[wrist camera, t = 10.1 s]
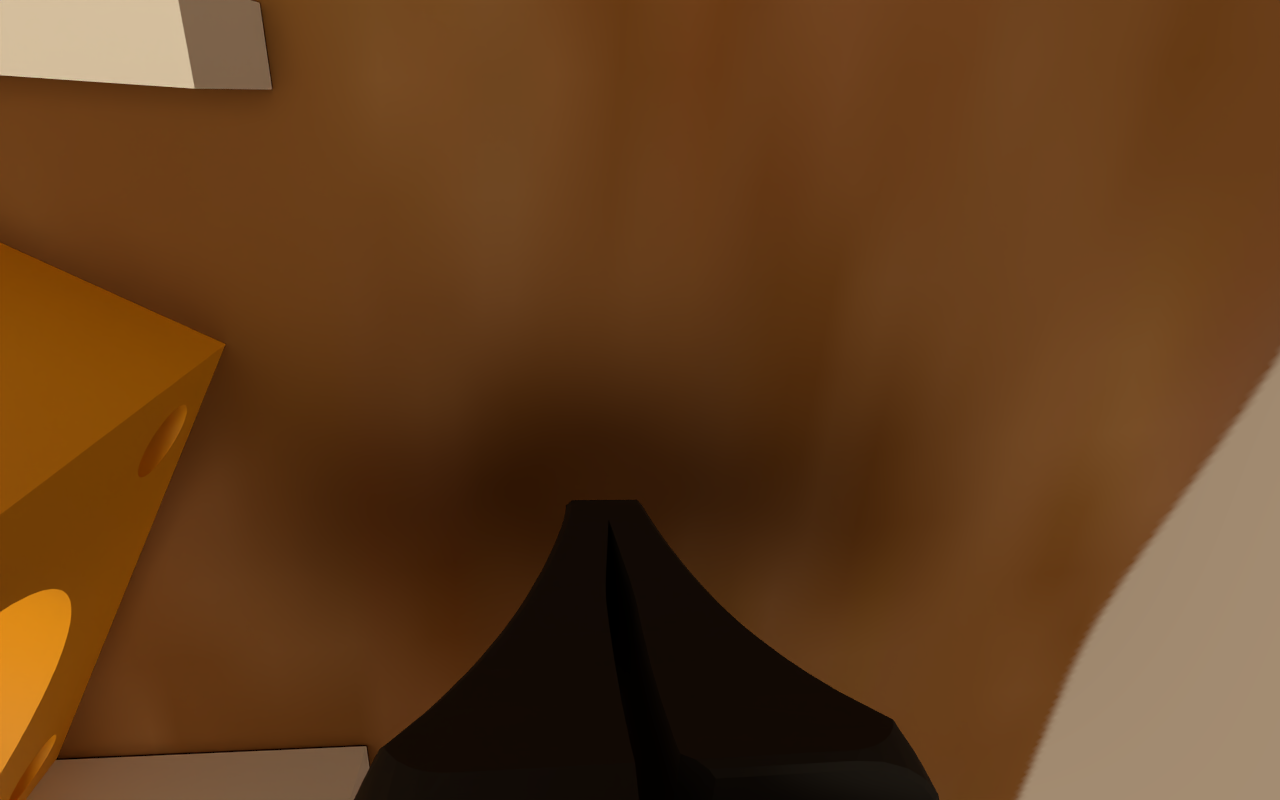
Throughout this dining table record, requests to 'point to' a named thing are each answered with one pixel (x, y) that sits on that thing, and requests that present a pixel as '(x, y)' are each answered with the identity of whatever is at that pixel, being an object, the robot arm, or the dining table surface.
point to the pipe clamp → (77, 484)
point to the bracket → (186, 58)
